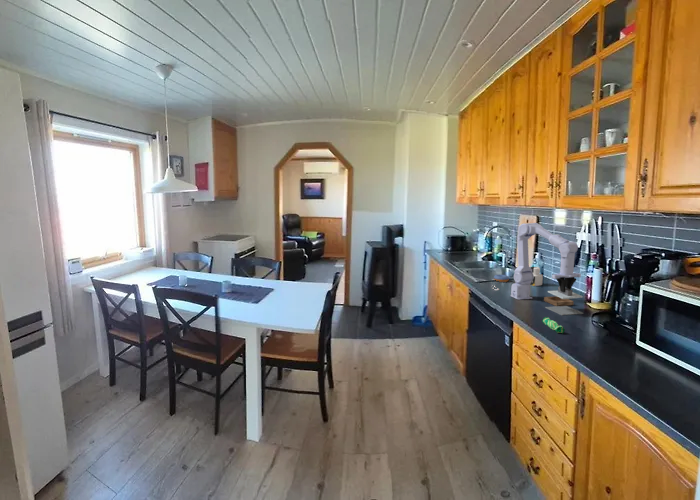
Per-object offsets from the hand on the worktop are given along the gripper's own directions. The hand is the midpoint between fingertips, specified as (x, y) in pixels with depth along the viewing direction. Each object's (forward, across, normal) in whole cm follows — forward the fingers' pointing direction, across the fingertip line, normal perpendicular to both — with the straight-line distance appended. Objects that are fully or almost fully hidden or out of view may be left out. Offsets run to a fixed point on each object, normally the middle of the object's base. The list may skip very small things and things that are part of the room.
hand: (565, 291), depth 176 cm
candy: (+11, -22, -20) cm, 32 cm away
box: (+10, +6, +12) cm, 17 cm away
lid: (+3, 0, 0) cm, 3 cm away
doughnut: (+11, +4, +65) cm, 66 cm away
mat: (+10, 0, 0) cm, 10 cm away
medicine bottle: (+10, +19, +50) cm, 55 cm away
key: (+11, -10, +48) cm, 50 cm away
